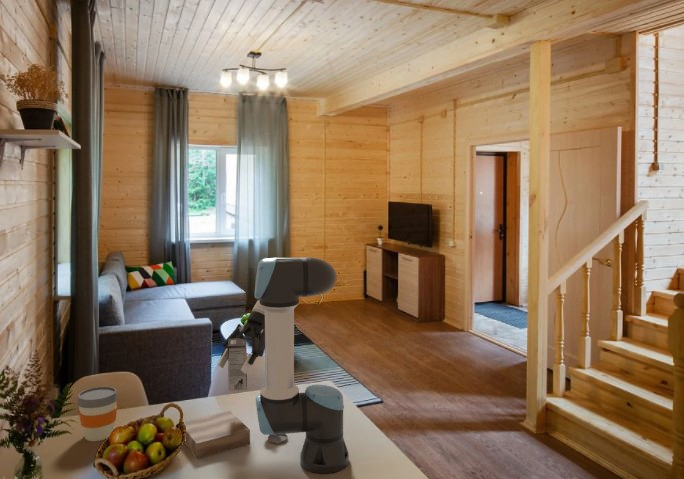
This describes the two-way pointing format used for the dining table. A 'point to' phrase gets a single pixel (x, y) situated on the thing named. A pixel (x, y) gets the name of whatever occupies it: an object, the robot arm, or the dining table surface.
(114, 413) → the reusable coffee cup
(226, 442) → the walnut plinth
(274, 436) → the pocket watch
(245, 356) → the coffee box
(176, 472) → the dining table surface
